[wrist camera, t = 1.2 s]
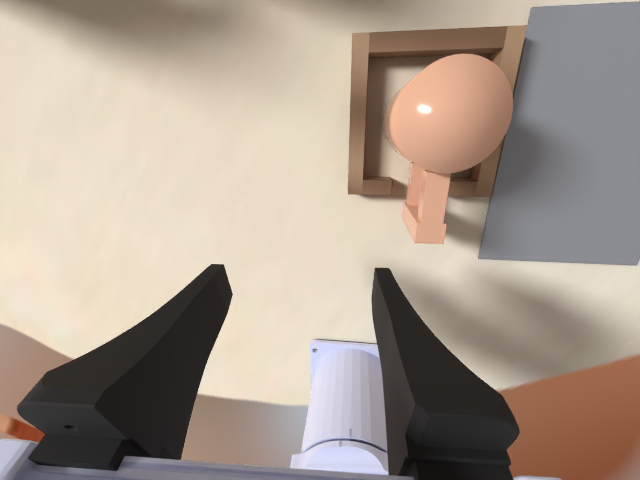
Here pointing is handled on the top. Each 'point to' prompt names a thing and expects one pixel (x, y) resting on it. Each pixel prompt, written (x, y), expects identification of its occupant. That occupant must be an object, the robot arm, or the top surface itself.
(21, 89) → the top surface
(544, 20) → the mat
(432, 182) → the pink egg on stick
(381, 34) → the holder
